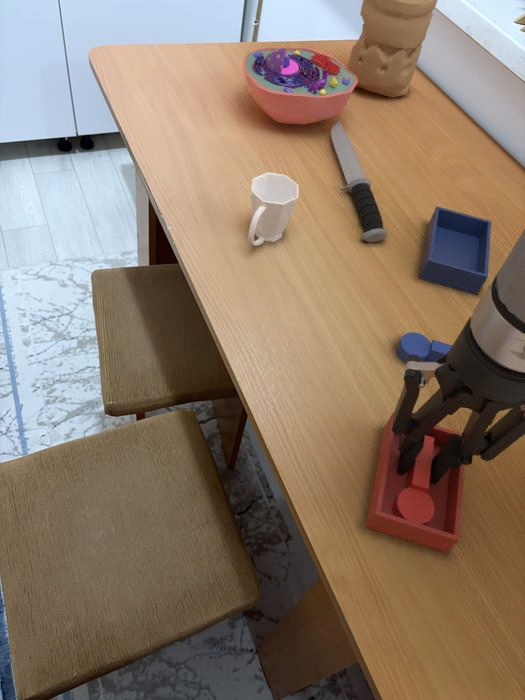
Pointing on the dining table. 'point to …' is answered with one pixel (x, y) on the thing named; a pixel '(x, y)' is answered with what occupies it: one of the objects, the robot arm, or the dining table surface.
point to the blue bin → (456, 250)
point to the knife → (358, 185)
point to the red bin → (444, 493)
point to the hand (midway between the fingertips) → (417, 467)
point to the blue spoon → (421, 347)
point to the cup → (271, 206)
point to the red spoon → (417, 488)
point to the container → (390, 44)
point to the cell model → (298, 83)
